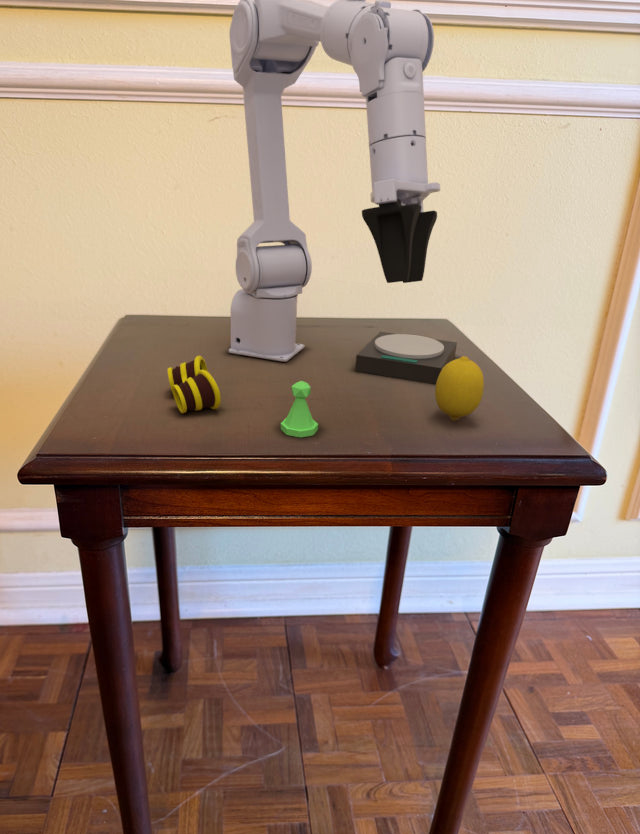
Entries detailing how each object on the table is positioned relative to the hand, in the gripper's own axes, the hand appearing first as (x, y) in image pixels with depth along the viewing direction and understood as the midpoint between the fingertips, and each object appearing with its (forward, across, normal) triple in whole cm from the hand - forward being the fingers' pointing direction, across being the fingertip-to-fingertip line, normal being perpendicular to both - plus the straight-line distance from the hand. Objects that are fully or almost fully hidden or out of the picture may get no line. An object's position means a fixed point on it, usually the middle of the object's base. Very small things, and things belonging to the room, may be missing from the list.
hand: (405, 282), depth 73 cm
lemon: (+17, +9, -3) cm, 19 cm away
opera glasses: (+12, -1, +27) cm, 30 cm away
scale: (+11, +25, +6) cm, 28 cm away
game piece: (+15, -2, +13) cm, 20 cm away
